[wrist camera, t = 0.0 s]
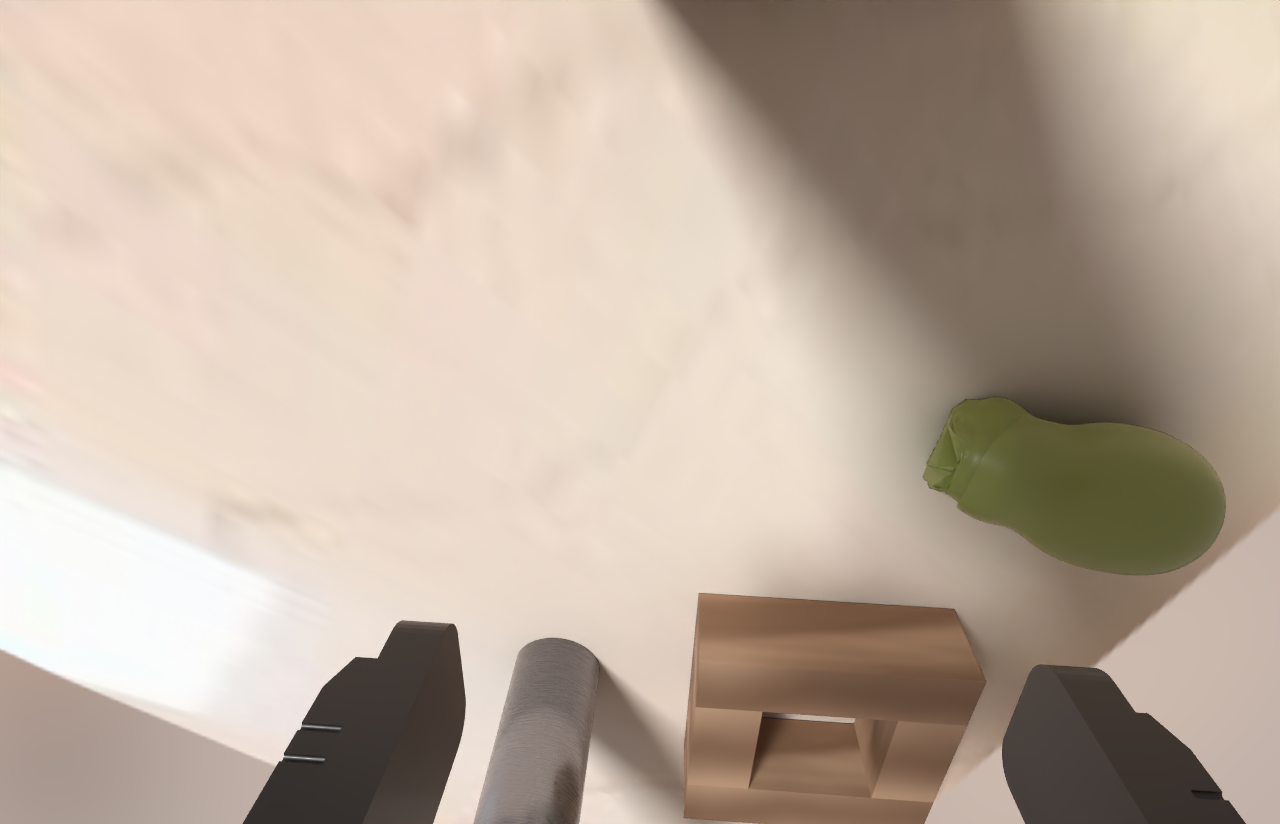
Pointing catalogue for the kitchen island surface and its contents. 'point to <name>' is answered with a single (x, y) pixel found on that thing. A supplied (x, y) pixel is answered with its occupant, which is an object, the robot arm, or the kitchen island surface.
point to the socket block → (823, 710)
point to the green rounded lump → (1080, 487)
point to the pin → (542, 737)
